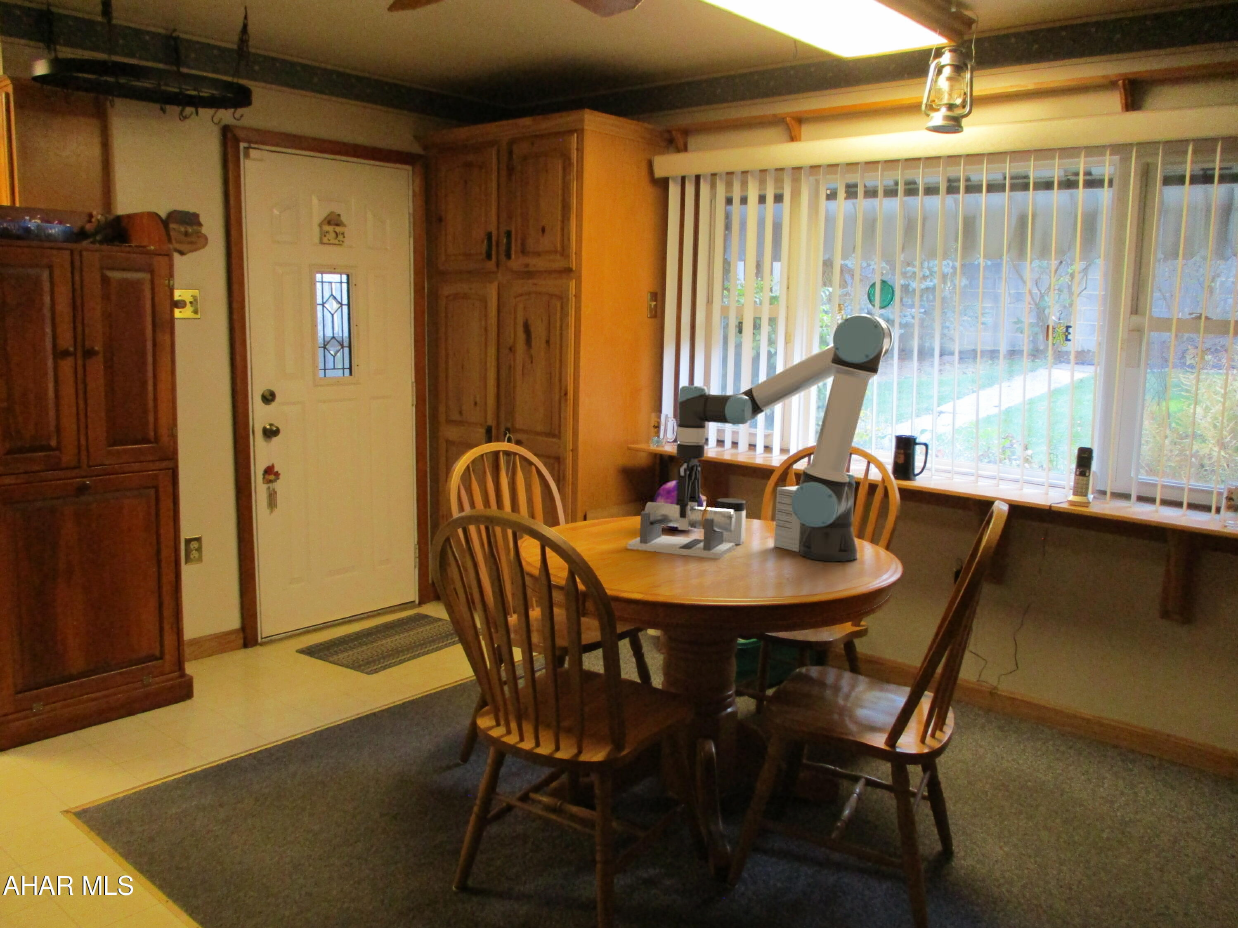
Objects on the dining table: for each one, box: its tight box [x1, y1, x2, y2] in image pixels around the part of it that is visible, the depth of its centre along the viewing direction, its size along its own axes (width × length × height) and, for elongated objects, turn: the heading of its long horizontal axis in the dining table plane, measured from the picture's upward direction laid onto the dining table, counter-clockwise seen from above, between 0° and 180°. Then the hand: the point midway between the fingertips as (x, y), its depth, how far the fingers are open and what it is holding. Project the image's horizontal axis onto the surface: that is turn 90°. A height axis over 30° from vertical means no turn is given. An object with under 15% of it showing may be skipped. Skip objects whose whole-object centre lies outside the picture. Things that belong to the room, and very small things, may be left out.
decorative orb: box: [653, 479, 703, 531], centre depth 290 cm, size 15×15×15 cm
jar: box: [716, 497, 747, 545], centre depth 274 cm, size 9×8×12 cm
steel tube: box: [644, 501, 735, 532], centre depth 261 cm, size 24×6×6 cm, turn 68°
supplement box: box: [773, 485, 808, 553], centre depth 268 cm, size 10×9×17 cm
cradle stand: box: [626, 510, 736, 560], centre depth 262 cm, size 26×15×10 cm, turn 68°
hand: (687, 527), depth 262 cm, fingers closed on steel tube, 6 cm apart
